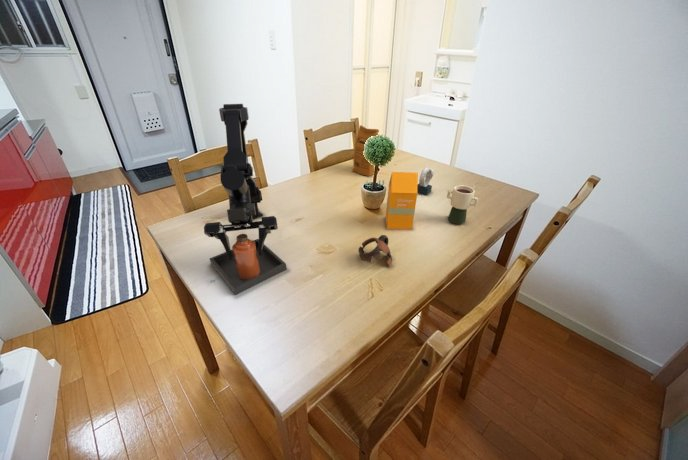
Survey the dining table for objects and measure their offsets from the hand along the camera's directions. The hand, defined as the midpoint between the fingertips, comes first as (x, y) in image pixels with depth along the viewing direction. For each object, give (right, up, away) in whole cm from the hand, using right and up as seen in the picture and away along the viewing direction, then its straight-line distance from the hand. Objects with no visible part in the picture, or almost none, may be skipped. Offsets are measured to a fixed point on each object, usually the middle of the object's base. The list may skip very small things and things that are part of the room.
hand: (245, 257), depth 82 cm
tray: (-1, -4, +7) cm, 8 cm away
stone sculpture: (+62, +24, +52) cm, 84 cm away
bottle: (0, -5, +5) cm, 7 cm away
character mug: (+69, +11, +31) cm, 76 cm away
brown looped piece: (+37, -2, +12) cm, 39 cm away
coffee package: (+37, +37, +71) cm, 88 cm away
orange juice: (+47, +10, +29) cm, 56 cm away
